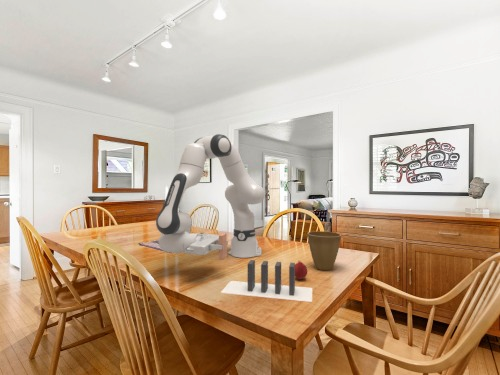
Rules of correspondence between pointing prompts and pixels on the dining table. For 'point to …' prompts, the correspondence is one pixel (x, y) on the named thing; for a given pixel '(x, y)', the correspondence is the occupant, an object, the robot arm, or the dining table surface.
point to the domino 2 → (264, 276)
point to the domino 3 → (278, 278)
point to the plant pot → (324, 248)
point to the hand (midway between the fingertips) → (224, 245)
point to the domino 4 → (292, 279)
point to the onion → (300, 270)
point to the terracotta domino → (224, 242)
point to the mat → (268, 291)
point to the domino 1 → (251, 275)
